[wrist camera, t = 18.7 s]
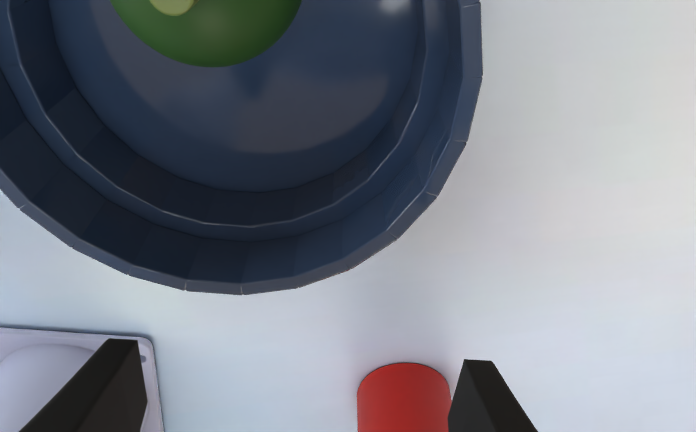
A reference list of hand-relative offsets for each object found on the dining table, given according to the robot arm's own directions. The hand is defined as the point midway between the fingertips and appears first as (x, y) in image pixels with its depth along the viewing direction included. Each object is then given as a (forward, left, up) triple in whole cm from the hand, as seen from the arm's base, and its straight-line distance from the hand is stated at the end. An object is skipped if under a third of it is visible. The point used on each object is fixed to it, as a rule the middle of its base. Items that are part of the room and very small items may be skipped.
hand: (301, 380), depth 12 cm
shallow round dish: (+5, +3, -10) cm, 11 cm away
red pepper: (-12, -5, -10) cm, 16 cm away
